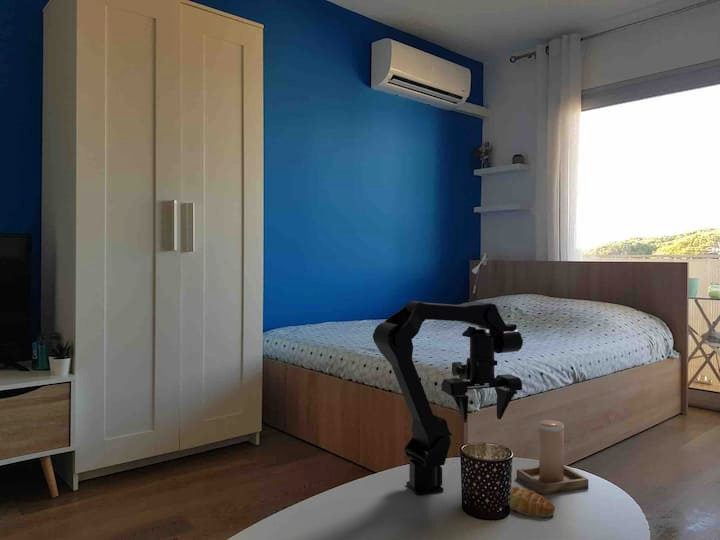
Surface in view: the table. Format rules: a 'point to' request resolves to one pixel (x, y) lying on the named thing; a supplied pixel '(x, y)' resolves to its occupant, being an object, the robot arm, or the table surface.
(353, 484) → the table surface
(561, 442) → the tumbler
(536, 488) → the tray
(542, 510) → the pastry
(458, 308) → the robot arm
